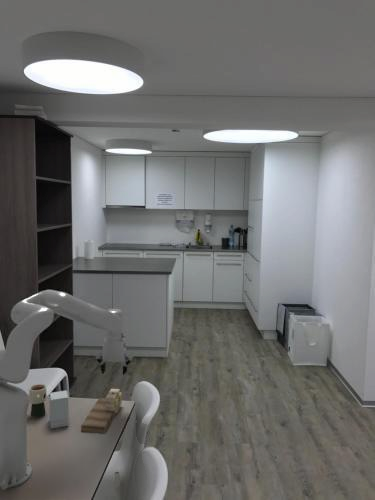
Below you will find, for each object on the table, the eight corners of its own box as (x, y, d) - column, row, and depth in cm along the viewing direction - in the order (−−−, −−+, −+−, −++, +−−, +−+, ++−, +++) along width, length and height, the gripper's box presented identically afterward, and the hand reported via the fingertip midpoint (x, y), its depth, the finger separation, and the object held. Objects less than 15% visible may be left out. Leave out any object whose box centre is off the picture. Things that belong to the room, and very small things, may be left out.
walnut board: (104, 433, 162) (104, 427, 162) (81, 431, 163) (81, 425, 163) (119, 404, 186) (119, 399, 186) (99, 403, 187) (99, 398, 186)
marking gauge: (116, 413, 175) (116, 397, 174) (105, 412, 175) (105, 397, 175) (121, 403, 184) (121, 388, 183) (111, 402, 184) (111, 388, 184)
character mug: (47, 419, 171) (47, 391, 170) (29, 422, 168) (29, 393, 167) (45, 408, 181) (45, 381, 180) (29, 410, 178) (28, 383, 177)
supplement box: (68, 425, 167) (68, 397, 166) (50, 428, 164) (50, 400, 163) (67, 417, 174) (67, 389, 172) (49, 420, 171) (49, 392, 170)
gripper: (134, 335, 179) (134, 371, 181) (98, 333, 181) (98, 368, 183) (131, 340, 172) (130, 377, 174) (92, 338, 173) (92, 375, 175)
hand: (113, 373), depth 178 cm, fingers open, 9 cm apart
